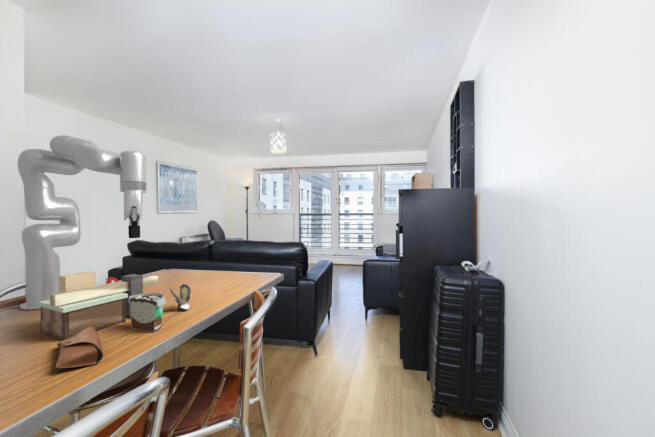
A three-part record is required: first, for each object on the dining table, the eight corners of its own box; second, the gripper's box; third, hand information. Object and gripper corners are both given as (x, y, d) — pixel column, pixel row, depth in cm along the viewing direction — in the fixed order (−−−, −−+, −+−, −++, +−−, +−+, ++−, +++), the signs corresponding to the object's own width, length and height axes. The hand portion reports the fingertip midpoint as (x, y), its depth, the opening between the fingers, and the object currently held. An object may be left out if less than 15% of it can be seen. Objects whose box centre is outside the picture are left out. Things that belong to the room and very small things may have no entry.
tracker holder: (105, 306, 112) (105, 280, 112) (96, 305, 113) (96, 279, 113) (132, 297, 124) (132, 274, 124) (124, 296, 125) (123, 273, 125)
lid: (37, 305, 87) (37, 278, 87) (102, 292, 102) (101, 268, 102) (63, 313, 80) (62, 283, 80) (127, 297, 96) (127, 272, 95)
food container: (175, 326, 92) (175, 294, 92) (157, 333, 86) (157, 300, 86) (146, 321, 96) (146, 291, 96) (128, 328, 90) (127, 296, 90)
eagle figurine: (178, 306, 112) (178, 283, 111) (195, 307, 111) (195, 283, 111) (165, 313, 104) (165, 288, 104) (184, 314, 103) (184, 288, 103)
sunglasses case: (54, 342, 76) (74, 318, 79) (82, 352, 80) (100, 328, 83) (54, 369, 63) (78, 339, 66) (87, 378, 67) (109, 350, 70)
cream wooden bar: (50, 305, 82) (50, 294, 82) (153, 283, 109) (153, 275, 109) (55, 306, 81) (55, 295, 81) (158, 283, 108) (158, 275, 108)
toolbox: (40, 331, 87) (40, 285, 87) (121, 310, 107) (121, 272, 107) (64, 340, 81) (64, 290, 81) (145, 315, 101) (145, 275, 101)
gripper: (120, 189, 106) (121, 236, 106) (119, 184, 91) (120, 239, 92) (145, 190, 110) (145, 235, 110) (147, 186, 96) (148, 238, 96)
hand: (134, 237), depth 101 cm, fingers open, 9 cm apart
